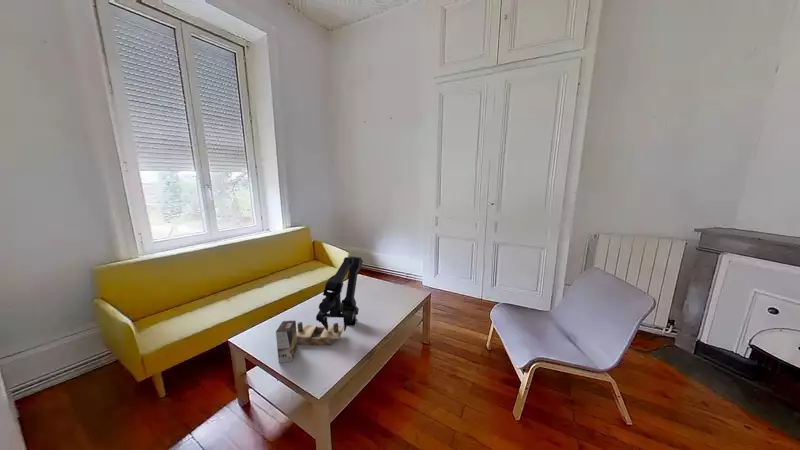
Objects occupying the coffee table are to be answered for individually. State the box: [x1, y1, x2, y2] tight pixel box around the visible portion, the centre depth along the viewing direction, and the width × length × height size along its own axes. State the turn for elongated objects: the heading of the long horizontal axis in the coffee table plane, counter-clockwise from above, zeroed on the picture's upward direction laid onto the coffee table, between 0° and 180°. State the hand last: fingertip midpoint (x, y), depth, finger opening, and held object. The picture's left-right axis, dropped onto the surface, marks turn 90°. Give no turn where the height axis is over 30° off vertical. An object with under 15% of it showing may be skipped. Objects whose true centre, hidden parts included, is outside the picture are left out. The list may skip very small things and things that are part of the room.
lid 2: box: [320, 322, 344, 340], centre depth 139 cm, size 10×10×5 cm
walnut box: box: [297, 326, 334, 347], centre depth 140 cm, size 20×10×4 cm, turn 89°
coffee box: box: [275, 320, 299, 363], centre depth 126 cm, size 9×6×16 cm
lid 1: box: [296, 321, 318, 338], centre depth 139 cm, size 10×10×5 cm
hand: (336, 330), depth 139 cm, fingers open, 9 cm apart
